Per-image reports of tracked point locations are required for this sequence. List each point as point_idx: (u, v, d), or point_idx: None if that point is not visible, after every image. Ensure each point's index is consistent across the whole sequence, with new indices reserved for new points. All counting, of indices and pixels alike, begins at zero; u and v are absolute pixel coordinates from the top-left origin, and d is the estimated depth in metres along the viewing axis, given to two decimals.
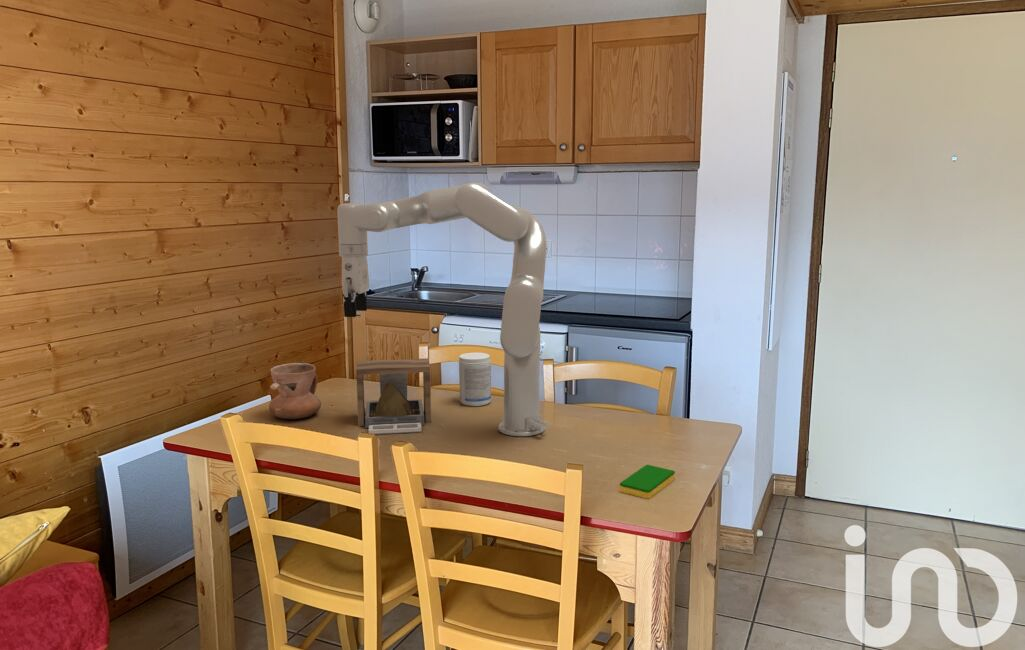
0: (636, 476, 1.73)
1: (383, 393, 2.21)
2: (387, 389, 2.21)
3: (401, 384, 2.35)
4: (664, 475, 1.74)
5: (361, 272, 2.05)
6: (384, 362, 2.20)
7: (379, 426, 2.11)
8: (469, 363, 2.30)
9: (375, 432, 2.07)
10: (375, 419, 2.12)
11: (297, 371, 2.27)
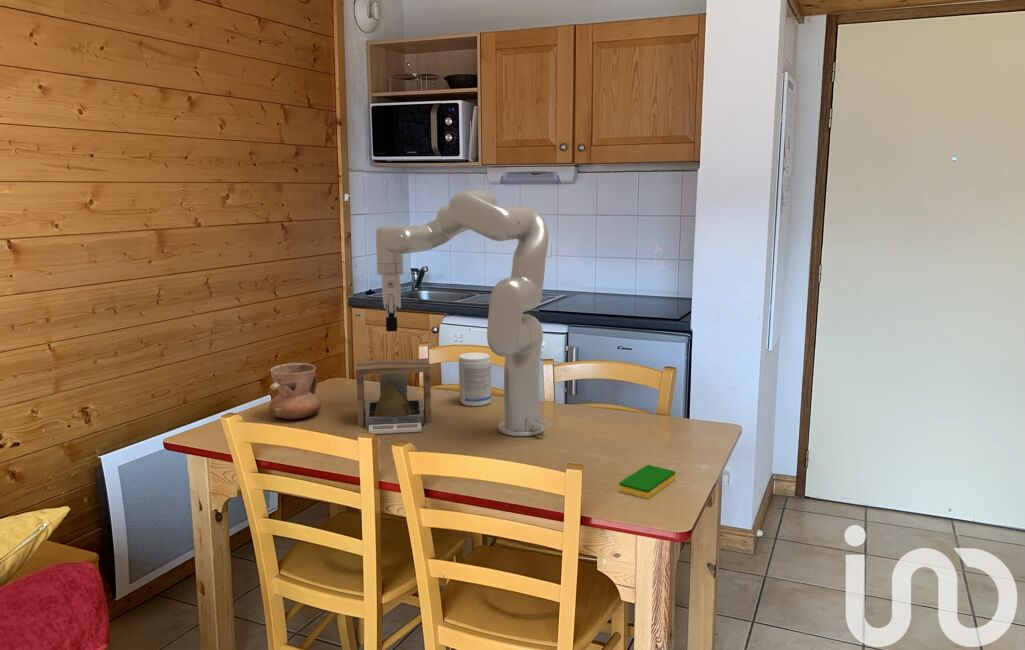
0: (636, 476, 1.73)
1: (383, 393, 2.21)
2: (387, 389, 2.21)
3: (401, 384, 2.35)
4: (664, 475, 1.74)
5: None
6: (384, 362, 2.20)
7: (379, 426, 2.11)
8: (469, 363, 2.30)
9: (375, 432, 2.07)
10: (375, 419, 2.12)
11: (297, 371, 2.27)
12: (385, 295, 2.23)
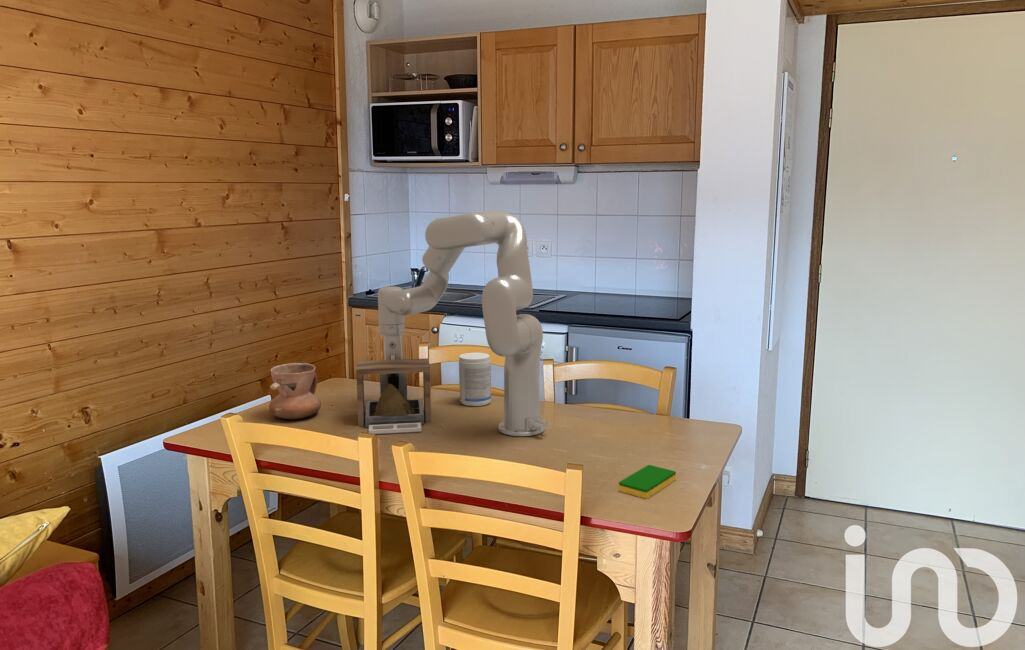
0: (636, 476, 1.73)
1: (383, 393, 2.21)
2: (387, 390, 2.21)
3: (401, 383, 2.36)
4: (664, 475, 1.74)
5: None
6: (384, 362, 2.20)
7: (379, 426, 2.11)
8: (469, 363, 2.30)
9: (375, 432, 2.07)
10: (375, 418, 2.13)
11: (297, 371, 2.27)
12: (387, 355, 2.26)
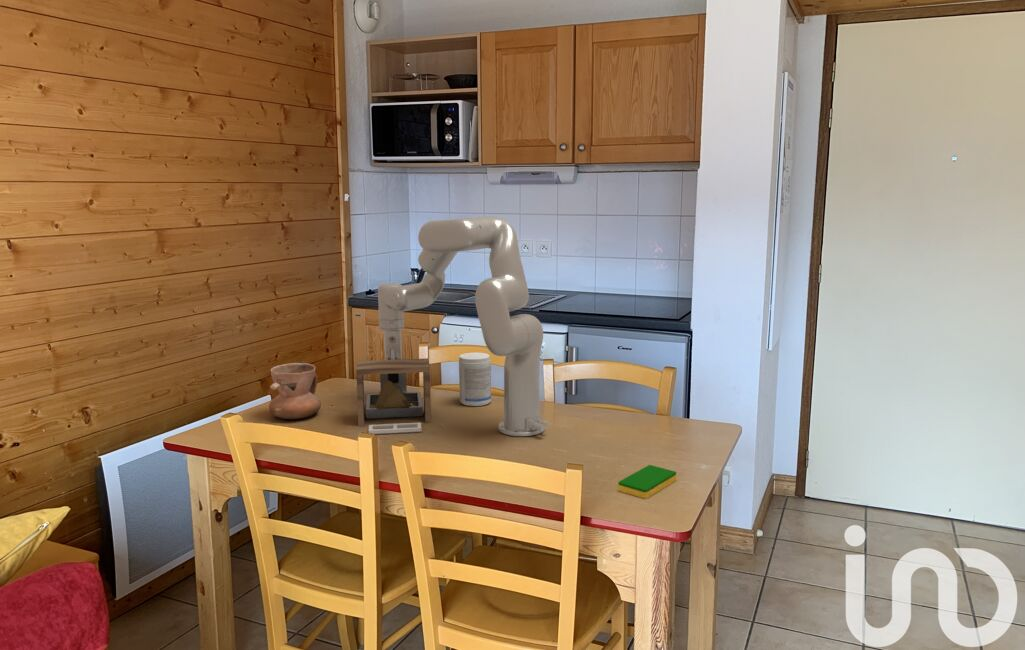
0: (636, 476, 1.73)
1: (382, 390, 2.24)
2: (386, 387, 2.24)
3: (400, 377, 2.43)
4: (664, 476, 1.74)
5: (401, 343, 2.36)
6: (384, 362, 2.20)
7: (379, 426, 2.11)
8: (469, 363, 2.30)
9: (375, 432, 2.07)
10: (375, 410, 2.20)
11: (297, 371, 2.27)
12: (387, 350, 2.33)
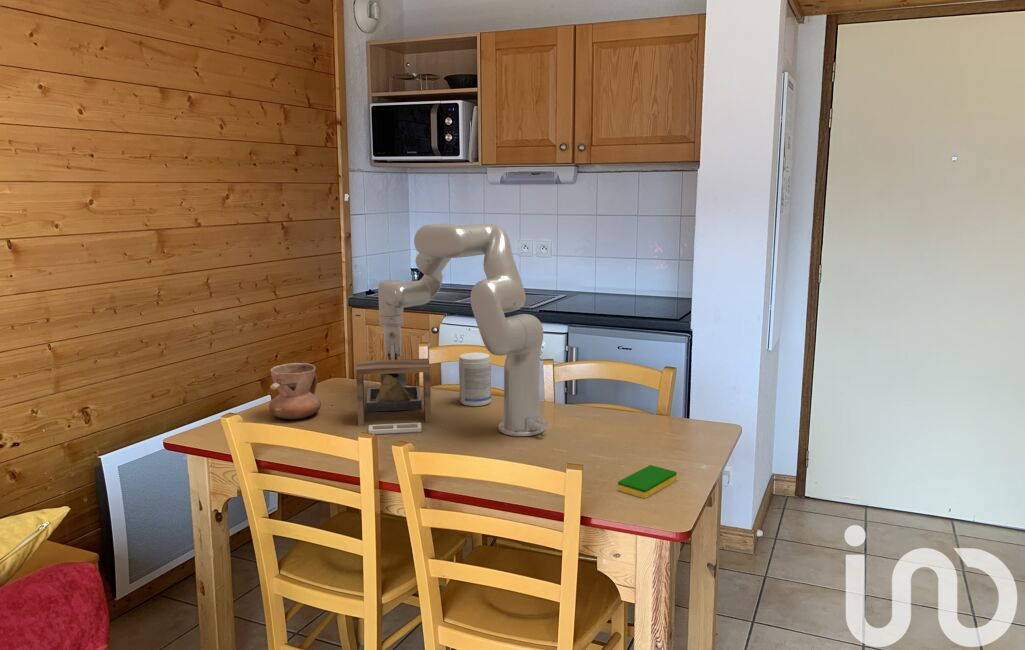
0: (636, 476, 1.74)
1: (383, 384, 2.30)
2: (387, 381, 2.30)
3: None
4: (665, 476, 1.74)
5: None
6: (384, 362, 2.20)
7: (379, 426, 2.11)
8: (469, 363, 2.30)
9: (375, 432, 2.07)
10: (376, 404, 2.27)
11: (297, 371, 2.27)
12: (387, 345, 2.40)
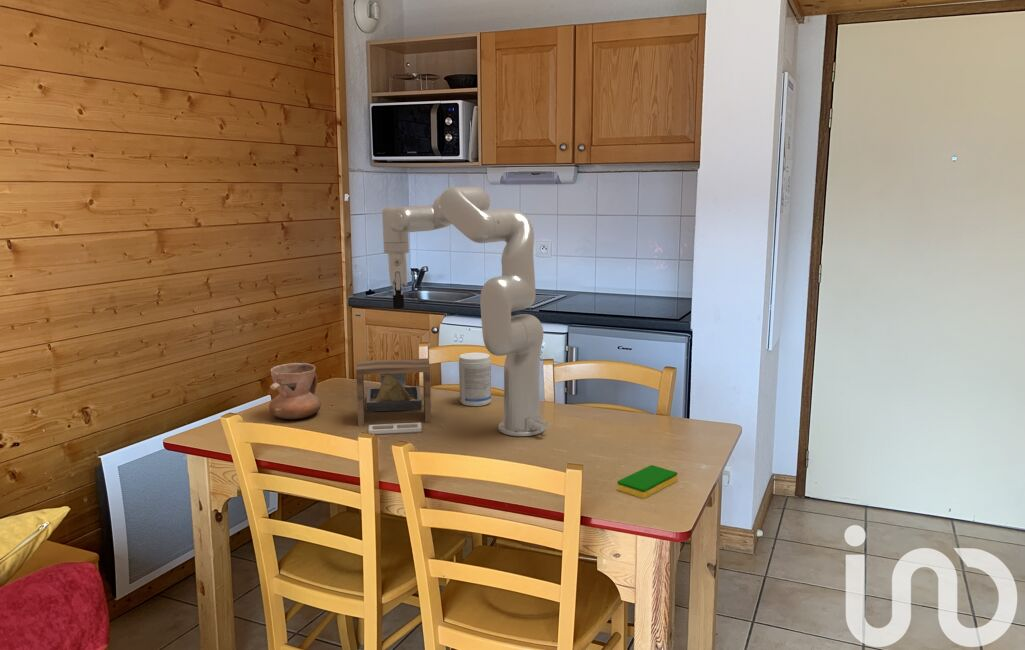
0: (636, 476, 1.74)
1: (383, 384, 2.30)
2: (387, 381, 2.30)
3: None
4: (665, 476, 1.74)
5: (406, 267, 2.34)
6: (384, 362, 2.20)
7: (379, 426, 2.11)
8: (469, 363, 2.30)
9: (375, 432, 2.07)
10: (376, 403, 2.27)
11: (297, 371, 2.27)
12: (392, 273, 2.32)
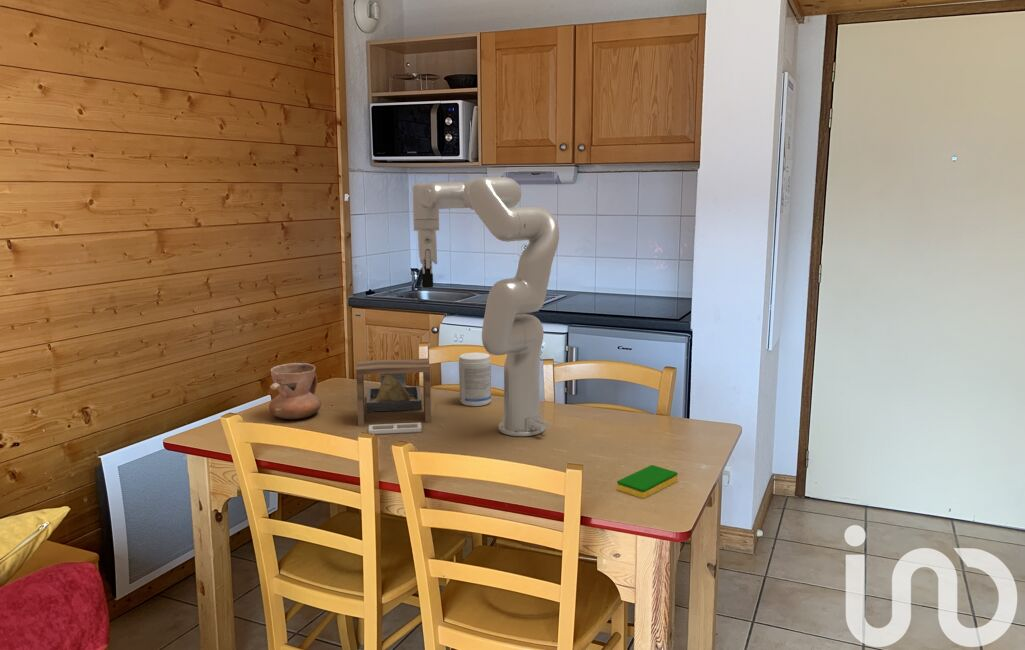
0: (635, 476, 1.74)
1: (383, 384, 2.30)
2: (387, 381, 2.30)
3: None
4: (665, 476, 1.74)
5: (436, 244, 2.29)
6: (384, 362, 2.20)
7: (379, 426, 2.11)
8: (469, 363, 2.30)
9: (375, 432, 2.07)
10: (376, 403, 2.27)
11: (297, 371, 2.27)
12: (422, 250, 2.26)
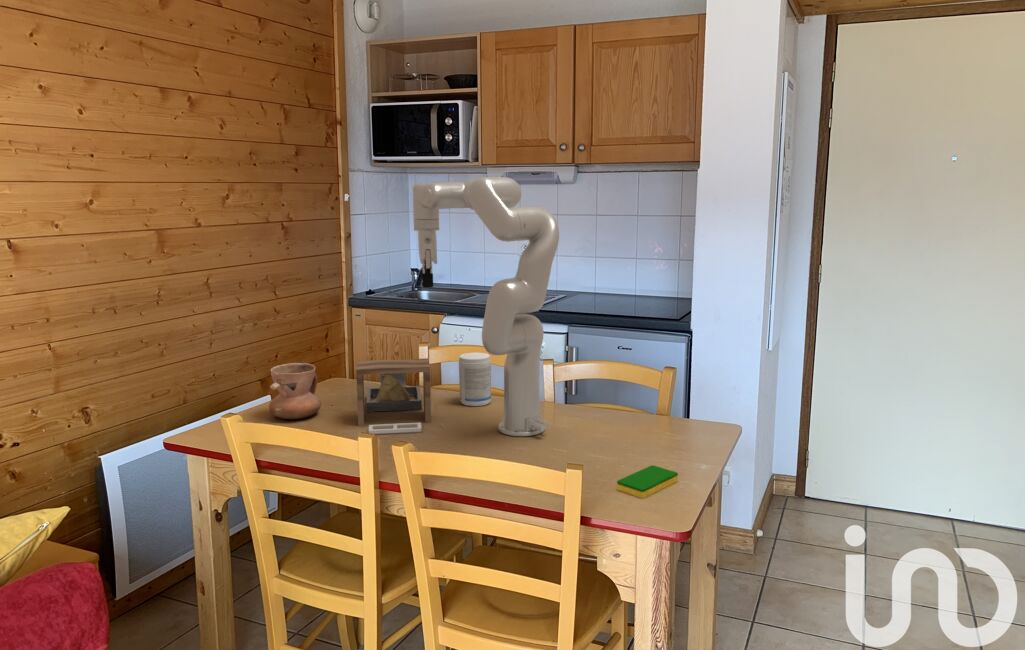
0: (635, 476, 1.74)
1: (383, 384, 2.30)
2: (387, 381, 2.30)
3: None
4: (665, 476, 1.73)
5: (436, 244, 2.29)
6: (384, 362, 2.20)
7: (379, 426, 2.11)
8: (469, 363, 2.30)
9: (375, 432, 2.07)
10: (376, 403, 2.27)
11: (297, 371, 2.27)
12: (422, 250, 2.26)
